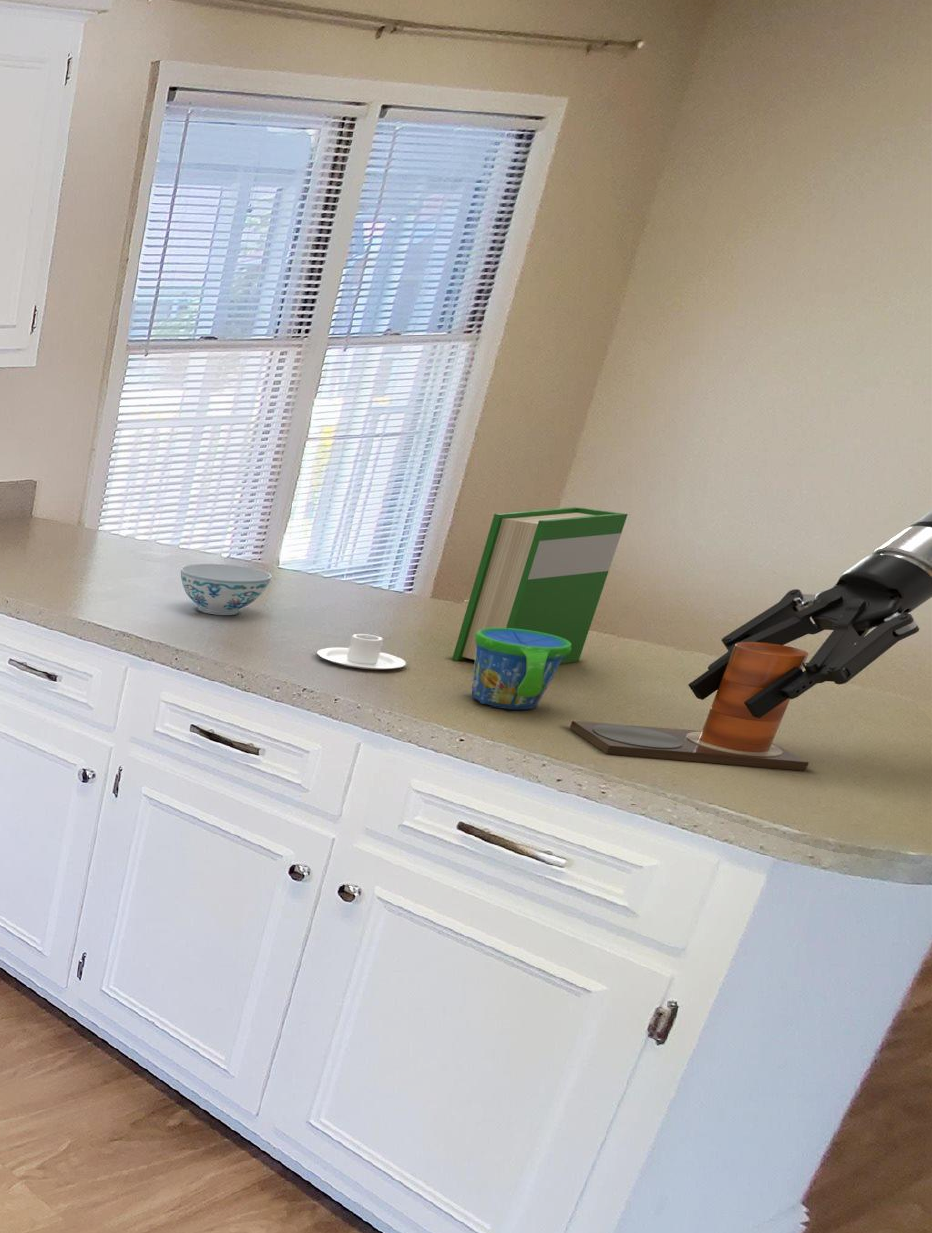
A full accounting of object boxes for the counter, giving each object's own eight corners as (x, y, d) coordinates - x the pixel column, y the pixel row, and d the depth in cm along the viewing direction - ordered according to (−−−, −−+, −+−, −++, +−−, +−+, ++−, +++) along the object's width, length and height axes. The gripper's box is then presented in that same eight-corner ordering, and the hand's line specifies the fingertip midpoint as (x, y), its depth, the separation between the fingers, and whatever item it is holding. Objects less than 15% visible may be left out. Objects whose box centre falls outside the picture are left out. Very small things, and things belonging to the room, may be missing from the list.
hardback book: (499, 671, 178) (545, 521, 169) (452, 659, 185) (494, 513, 176) (578, 661, 182) (627, 514, 174) (529, 649, 189) (574, 506, 180)
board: (805, 771, 139) (809, 761, 139) (606, 754, 145) (609, 744, 145) (754, 743, 148) (758, 734, 147) (569, 728, 154) (572, 719, 154)
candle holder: (316, 665, 183) (322, 640, 181) (316, 648, 192) (322, 623, 190) (406, 677, 176) (414, 650, 175) (402, 658, 186) (409, 633, 184)
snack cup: (561, 725, 155) (585, 655, 152) (466, 713, 160) (487, 645, 157) (537, 693, 168) (558, 628, 164) (450, 683, 173) (468, 620, 169)
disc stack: (781, 754, 141) (822, 657, 136) (717, 749, 143) (754, 653, 138) (750, 737, 146) (787, 643, 142) (688, 732, 148) (723, 640, 144)
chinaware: (246, 603, 221) (255, 564, 218) (275, 622, 208) (284, 581, 205) (164, 600, 224) (171, 562, 222) (186, 619, 211) (194, 579, 208)
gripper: (1013, 613, 129) (817, 747, 134) (829, 576, 147) (663, 696, 153) (988, 569, 127) (790, 707, 132) (805, 537, 145) (638, 659, 151)
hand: (723, 701), depth 142 cm, fingers closed on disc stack, 6 cm apart
